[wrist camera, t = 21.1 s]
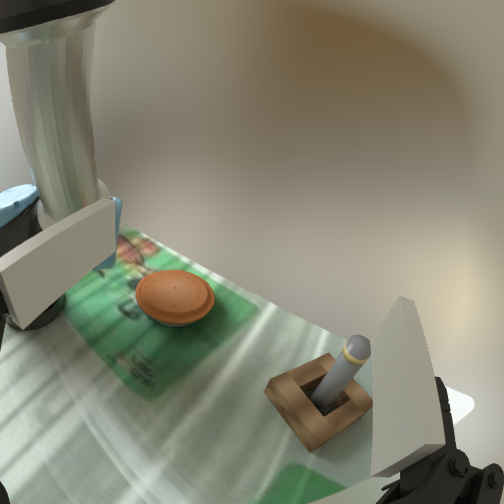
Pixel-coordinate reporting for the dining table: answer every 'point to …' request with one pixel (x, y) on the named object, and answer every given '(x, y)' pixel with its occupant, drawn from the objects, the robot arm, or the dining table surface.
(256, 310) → the dining table surface
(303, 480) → the dining table surface
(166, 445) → the dining table surface
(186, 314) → the pie
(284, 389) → the wooden square frame
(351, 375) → the gray cylinder
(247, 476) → the dining table surface
